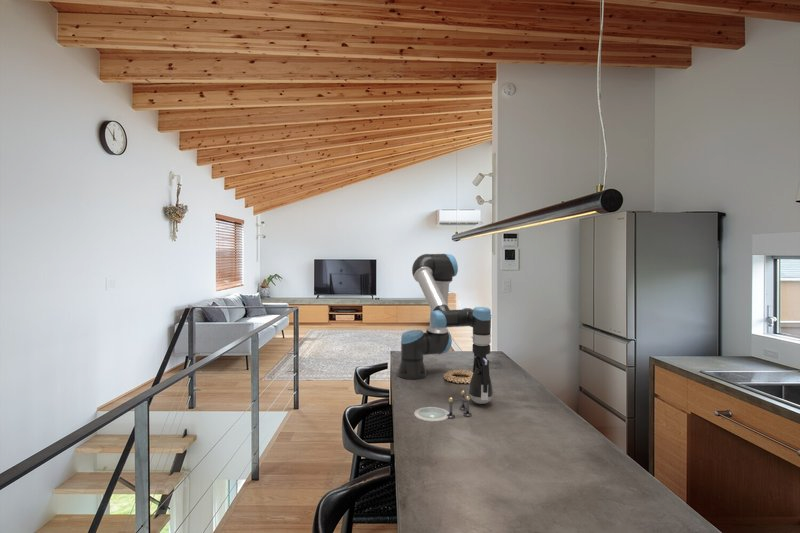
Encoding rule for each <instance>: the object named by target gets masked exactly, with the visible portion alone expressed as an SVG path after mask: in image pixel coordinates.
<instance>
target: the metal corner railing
mask: <svg viewBox="0 0 800 533" xmlns="http://www.w3.org/2000/svg"><path fill="white" fill-rule="evenodd" d="M460 393H461V398H453V397H451V396H450V397H448V401H449V403H448V404H449V408H448V409H449V410H448V412H449V414H447V416H448V419H455V418H456V414H453V403H455V402H461V405H460V406H459V408H458V409H459V410H460V411H465V412H463V416H464V417H466V418H471V417H473V416H472V415H473V414H472V413H471V412H470V400H471V397H470V395H467V393H466V391H465V390H461V392H460Z"/></svg>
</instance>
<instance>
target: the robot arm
mask: <svg viewBox="0 0 800 533" xmlns="http://www.w3.org/2000/svg"><path fill="white" fill-rule="evenodd" d="M458 265H459V264H458V262H457V259H456V257H455V255H453V254H448V253H424V254H421V255H420V256H418V257H417V258H416V259H415V261H414V262H413V265H412V267H411V268H412V269H411V272H412V276H413V279H414V281H415V282H417V283H418V284H419V287H420V289H421V291H422V293H423V296H424V298H425V300H426V301H427V304H428V306H429V307H430V308H429V309H430V318H429V325H428V326H427V327H426V332H424V331H423V330H422V329H413V330H407V331H404V332H403V333H402V334H401V340H400V344H401V345H400V357H401V358H400V363H399V366H398V370H397V376H398V378H401V379H405V380H420V379H424V378H426V377H427V374H428V373H427V369H426V365H425V362H424V356H427V355H429V356H430V355H441V354H447V353H448V352H450V349H452V342H453V340H452V334H451V333H450V331H449V329H448V328H459V327H460V328H461V327H471V328H472V335H471V339H472V350H471V351H472V353H473V356H474V357H473V365H472V366H473V367H472V373H473V372H474V371H475V369H476V368H477V367H479V369H480V371H481V379H482V383H481V400H488V385H490V378H491V375H490V360H489V359H487V355H490V354H491V342H492V340H491V339H492V338H491V336H492V334H491V330H492V329H491V328H492V313H491V312H492V311H491V308H489V307H486V306H476V307H473V308H470V307H469V308H468V307H463V308H461V309H450V308H449V306H448V302H449V291H450V289H449V288H450V283H452V282H453V278H454V277H456V276H457V275H458V272H459V271H458V270H459V268H458V267H459V266H458ZM486 381H487V382H486Z"/></svg>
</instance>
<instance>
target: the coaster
mask: <svg viewBox="0 0 800 533" xmlns="http://www.w3.org/2000/svg"><path fill="white" fill-rule="evenodd" d="M413 414H414V417H415V418H416V419H418V420H420V421H424V422H433V423H435V422H442V421H443V422H444V421H446V420H447V419H449V418H448V416H447V414H449V410H447V409H445V408H442V407H438V406H425V407H424V406H423V407H419V408H417V409H416V410H415V411H414V413H413Z"/></svg>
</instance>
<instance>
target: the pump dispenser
mask: <svg viewBox="0 0 800 533" xmlns="http://www.w3.org/2000/svg"><path fill="white" fill-rule="evenodd" d="M491 378H492V377H490V385H488V400H481V383H482V379H481V371H480V369H479V367H477V368H476V369H475V371H474V372H473V371H472V375H471V378H470V382H469V388H468V394H469V397H470V400H472V401H473V402H474V403H476V404H479V405H483V404H488V403H489V402H490V401H492V398H493V396H494V388H493V384H492V379H491ZM486 382H487V381H486Z"/></svg>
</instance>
